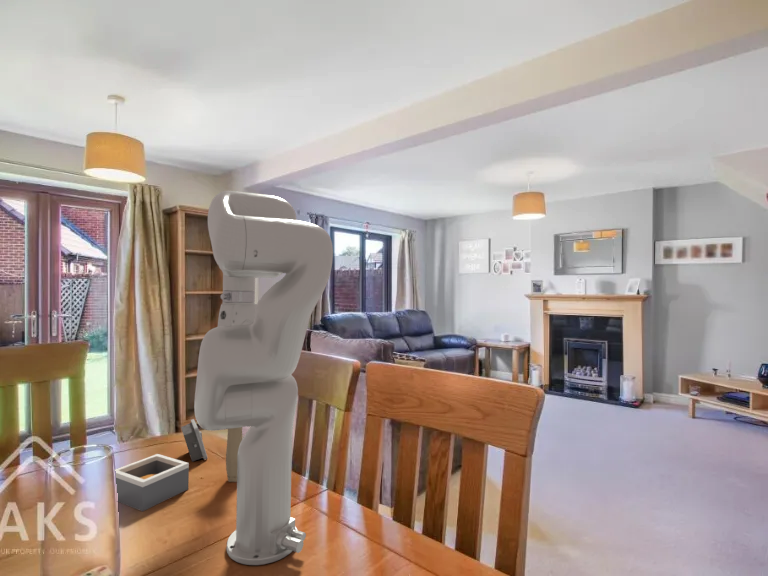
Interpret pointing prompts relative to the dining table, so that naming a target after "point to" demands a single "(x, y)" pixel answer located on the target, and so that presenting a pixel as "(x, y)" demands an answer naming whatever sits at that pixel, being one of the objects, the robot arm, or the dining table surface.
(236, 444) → the handle
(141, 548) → the dining table surface
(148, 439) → the dining table surface
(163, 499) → the box
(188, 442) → the electrical switch
